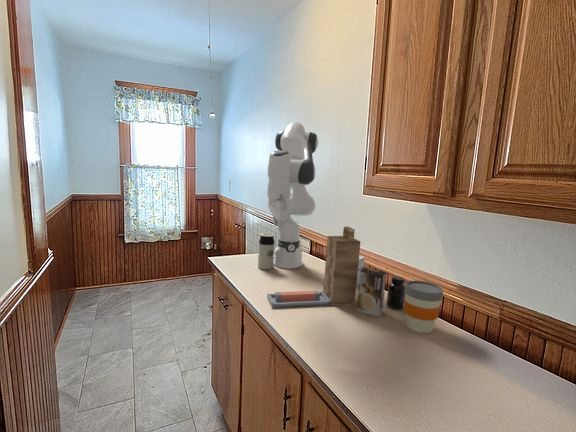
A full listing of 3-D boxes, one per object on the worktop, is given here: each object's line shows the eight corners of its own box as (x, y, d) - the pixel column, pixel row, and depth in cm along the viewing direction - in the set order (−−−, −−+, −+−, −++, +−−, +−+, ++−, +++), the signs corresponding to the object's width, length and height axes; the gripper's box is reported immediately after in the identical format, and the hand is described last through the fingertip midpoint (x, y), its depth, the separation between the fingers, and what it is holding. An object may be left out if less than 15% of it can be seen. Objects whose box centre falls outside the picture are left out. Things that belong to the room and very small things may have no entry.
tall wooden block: (322, 295, 140) (328, 225, 135) (344, 294, 142) (350, 225, 138) (331, 305, 130) (337, 230, 126) (354, 303, 133) (361, 230, 128)
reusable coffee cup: (418, 338, 108) (423, 295, 106) (393, 320, 120) (397, 281, 117) (446, 332, 113) (452, 291, 111) (419, 316, 124) (424, 279, 122)
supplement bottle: (405, 311, 129) (408, 281, 127) (387, 308, 130) (390, 279, 128) (402, 304, 135) (405, 276, 134) (385, 301, 137) (388, 274, 135)
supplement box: (356, 285, 154) (359, 259, 152) (342, 281, 159) (344, 256, 157) (363, 281, 160) (365, 256, 158) (349, 277, 164) (351, 253, 162)
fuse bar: (274, 299, 131) (275, 292, 130) (317, 297, 135) (317, 290, 135) (276, 302, 128) (276, 295, 127) (319, 300, 132) (320, 293, 132)
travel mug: (255, 265, 174) (257, 232, 172) (269, 264, 178) (271, 232, 175) (261, 270, 167) (262, 236, 165) (275, 269, 171) (277, 235, 168)
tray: (267, 297, 134) (267, 293, 133) (322, 295, 140) (322, 291, 139) (272, 308, 124) (272, 304, 124) (331, 305, 130) (331, 301, 130)
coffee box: (383, 311, 127) (387, 271, 125) (379, 317, 122) (384, 276, 119) (360, 305, 132) (363, 267, 129) (355, 311, 126) (359, 271, 123)
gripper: (293, 197, 117) (292, 234, 120) (281, 190, 137) (280, 222, 139) (276, 197, 116) (275, 235, 118) (266, 190, 135) (266, 222, 138)
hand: (278, 228), depth 129 cm, fingers open, 8 cm apart
